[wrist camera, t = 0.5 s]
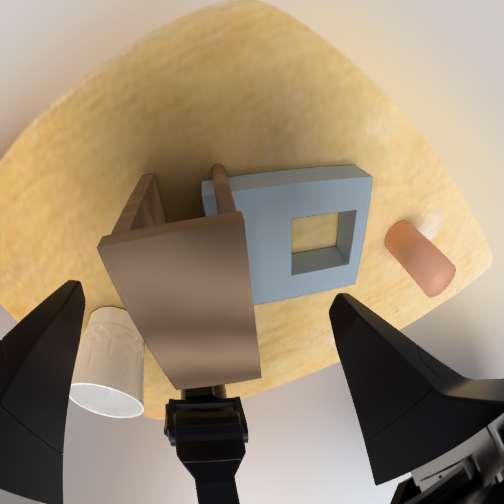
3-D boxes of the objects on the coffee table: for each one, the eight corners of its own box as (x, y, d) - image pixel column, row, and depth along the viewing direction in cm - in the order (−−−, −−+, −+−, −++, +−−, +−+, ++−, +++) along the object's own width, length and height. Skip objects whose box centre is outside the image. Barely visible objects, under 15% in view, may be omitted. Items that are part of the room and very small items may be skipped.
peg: (407, 247, 29) (447, 291, 22) (381, 253, 28) (420, 301, 22) (414, 218, 26) (460, 260, 20) (388, 222, 26) (434, 268, 20)
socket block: (343, 265, 28) (355, 284, 26) (221, 288, 27) (224, 310, 25) (354, 164, 22) (372, 176, 19) (201, 181, 20) (201, 196, 18)
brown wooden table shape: (242, 295, 28) (261, 377, 20) (176, 305, 27) (176, 389, 19) (225, 160, 20) (244, 221, 12) (136, 177, 19) (96, 247, 11)
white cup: (73, 310, 25) (50, 385, 17) (126, 294, 25) (111, 380, 17) (109, 350, 30) (100, 418, 22) (160, 339, 30) (159, 415, 22)
